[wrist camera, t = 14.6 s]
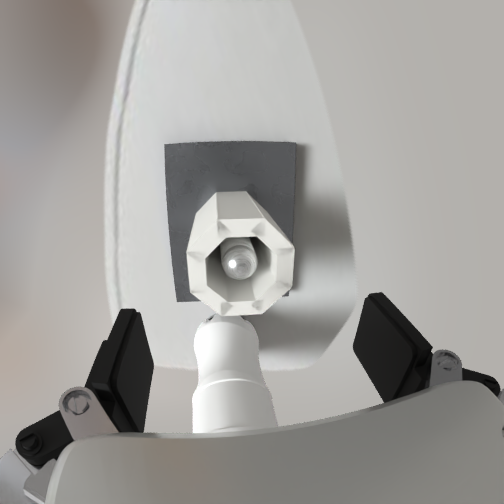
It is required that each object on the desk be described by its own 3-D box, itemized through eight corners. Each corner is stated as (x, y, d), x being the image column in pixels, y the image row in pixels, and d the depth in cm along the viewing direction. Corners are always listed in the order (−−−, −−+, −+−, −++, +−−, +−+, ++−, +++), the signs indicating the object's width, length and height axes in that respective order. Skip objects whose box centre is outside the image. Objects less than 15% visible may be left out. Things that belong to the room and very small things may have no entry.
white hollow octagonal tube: (194, 192, 25) (183, 220, 16) (266, 190, 26) (297, 217, 17) (198, 259, 27) (192, 317, 18) (265, 257, 28) (290, 312, 19)
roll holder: (167, 144, 24) (135, 143, 14) (291, 142, 26) (340, 143, 16) (178, 294, 30) (166, 365, 20) (285, 289, 32) (316, 354, 21)
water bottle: (267, 324, 33) (331, 529, 10) (229, 359, 35) (256, 549, 12) (220, 292, 31) (246, 536, 8) (183, 332, 32) (173, 545, 9)
